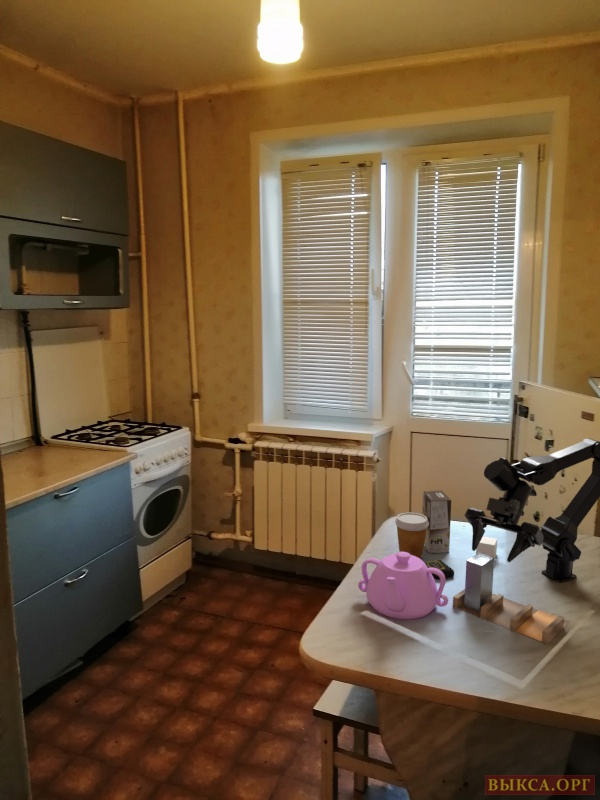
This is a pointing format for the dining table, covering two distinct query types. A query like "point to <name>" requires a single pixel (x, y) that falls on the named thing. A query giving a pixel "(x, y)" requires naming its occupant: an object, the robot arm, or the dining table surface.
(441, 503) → the coffee box
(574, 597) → the dining table surface
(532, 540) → the robot arm
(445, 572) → the tape measure
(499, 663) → the dining table surface
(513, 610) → the rail rack
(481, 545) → the cream white cube
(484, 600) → the tall grey box
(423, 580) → the teapot
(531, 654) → the dining table surface
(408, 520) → the disposable coffee cup
